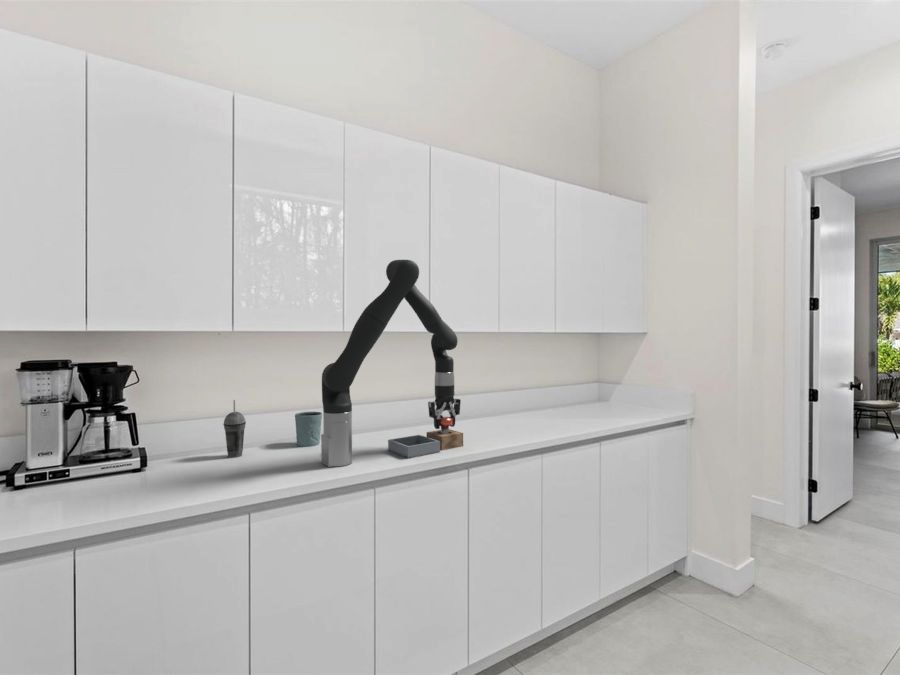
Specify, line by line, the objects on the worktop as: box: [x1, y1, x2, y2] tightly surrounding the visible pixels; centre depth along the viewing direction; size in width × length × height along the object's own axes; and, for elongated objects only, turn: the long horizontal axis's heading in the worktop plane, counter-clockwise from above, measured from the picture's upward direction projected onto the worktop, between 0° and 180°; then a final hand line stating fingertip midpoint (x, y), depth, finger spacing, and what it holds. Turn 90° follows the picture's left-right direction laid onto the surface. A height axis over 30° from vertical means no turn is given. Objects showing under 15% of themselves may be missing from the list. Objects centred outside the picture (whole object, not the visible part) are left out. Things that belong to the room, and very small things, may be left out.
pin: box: [439, 414, 453, 434], centre depth 178 cm, size 6×6×11 cm
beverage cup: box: [222, 399, 247, 459], centre depth 165 cm, size 7×7×20 cm
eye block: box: [426, 428, 464, 451], centre depth 178 cm, size 10×10×5 cm
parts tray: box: [387, 434, 441, 459], centre depth 170 cm, size 14×14×4 cm
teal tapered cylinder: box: [294, 411, 323, 448], centre depth 182 cm, size 10×10×12 cm
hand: (444, 427), depth 178 cm, fingers open, 6 cm apart
